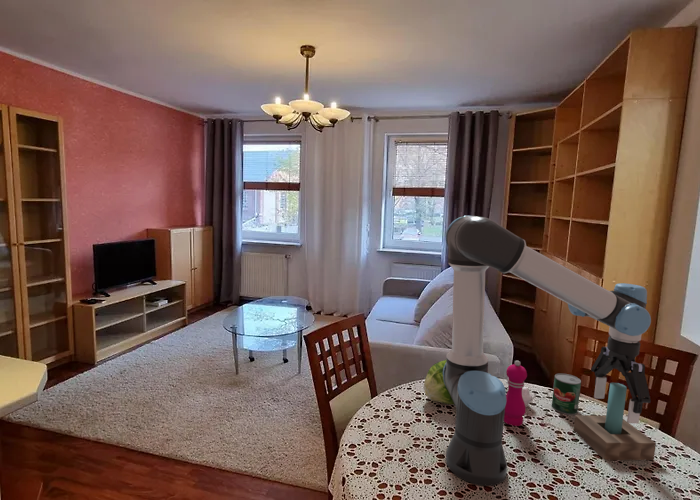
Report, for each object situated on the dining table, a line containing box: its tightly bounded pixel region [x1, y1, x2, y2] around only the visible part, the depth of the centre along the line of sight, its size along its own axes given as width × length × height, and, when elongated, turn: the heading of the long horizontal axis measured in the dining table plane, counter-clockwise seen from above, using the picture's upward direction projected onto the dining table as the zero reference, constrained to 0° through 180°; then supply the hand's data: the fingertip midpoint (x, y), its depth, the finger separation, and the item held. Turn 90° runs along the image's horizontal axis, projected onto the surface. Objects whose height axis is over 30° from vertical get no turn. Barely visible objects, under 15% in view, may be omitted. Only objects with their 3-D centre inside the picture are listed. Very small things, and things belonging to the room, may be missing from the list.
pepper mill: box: [504, 360, 528, 427], centre depth 124 cm, size 7×7×20 cm
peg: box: [605, 382, 628, 434], centre depth 113 cm, size 4×4×18 cm
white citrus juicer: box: [522, 385, 533, 408], centre depth 135 cm, size 6×6×7 cm
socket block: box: [573, 414, 657, 461], centre depth 114 cm, size 14×14×5 cm
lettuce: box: [423, 359, 455, 406], centre depth 136 cm, size 16×21×15 cm
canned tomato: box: [551, 373, 582, 416], centre depth 133 cm, size 8×8×11 cm
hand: (614, 409), depth 113 cm, fingers open, 13 cm apart
